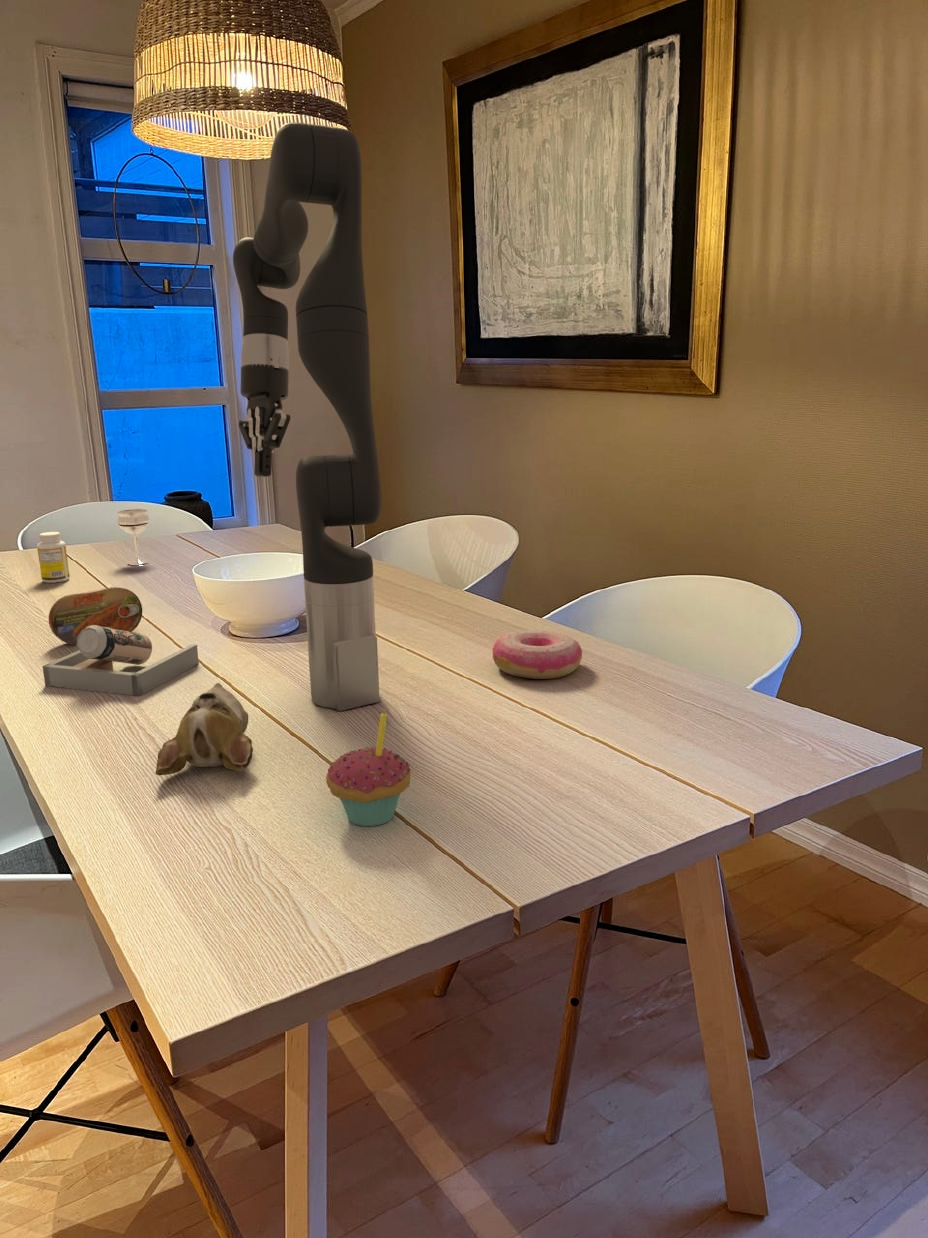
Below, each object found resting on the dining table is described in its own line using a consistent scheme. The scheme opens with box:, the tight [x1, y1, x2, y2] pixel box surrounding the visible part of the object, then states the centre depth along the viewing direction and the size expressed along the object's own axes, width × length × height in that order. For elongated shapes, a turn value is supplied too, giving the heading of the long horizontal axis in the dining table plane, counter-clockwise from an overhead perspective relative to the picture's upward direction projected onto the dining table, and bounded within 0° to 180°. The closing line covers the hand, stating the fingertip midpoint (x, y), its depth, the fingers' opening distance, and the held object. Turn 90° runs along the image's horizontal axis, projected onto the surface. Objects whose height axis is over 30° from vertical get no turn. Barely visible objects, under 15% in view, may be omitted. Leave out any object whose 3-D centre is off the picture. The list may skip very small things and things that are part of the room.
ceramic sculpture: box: [155, 682, 254, 776], centre depth 110 cm, size 11×9×15 cm
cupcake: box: [325, 706, 411, 827], centre depth 96 cm, size 9×8×12 cm
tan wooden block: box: [73, 659, 114, 671], centre depth 138 cm, size 4×4×3 cm
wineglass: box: [117, 508, 150, 564], centre depth 216 cm, size 7×7×12 cm
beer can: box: [76, 625, 153, 666], centre depth 141 cm, size 5×5×12 cm
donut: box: [492, 629, 583, 680], centre depth 141 cm, size 14×13×5 cm
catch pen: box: [42, 643, 200, 697], centre depth 141 cm, size 15×16×3 cm
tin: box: [48, 586, 143, 646], centre depth 159 cm, size 15×3×8 cm, turn 129°
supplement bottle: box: [36, 531, 71, 584], centre depth 200 cm, size 6×6×10 cm
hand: (262, 475), depth 152 cm, fingers closed
